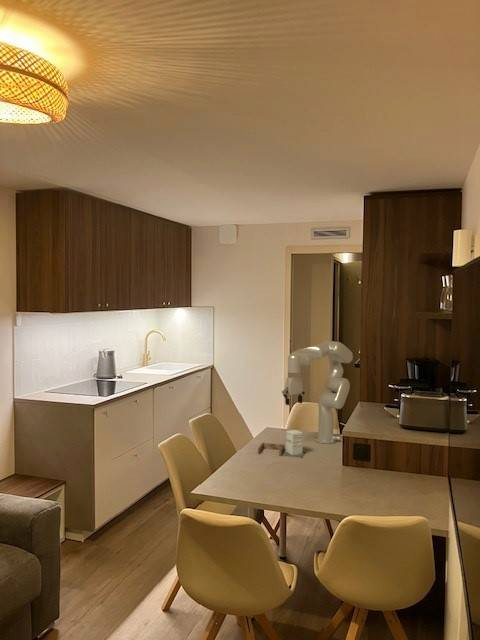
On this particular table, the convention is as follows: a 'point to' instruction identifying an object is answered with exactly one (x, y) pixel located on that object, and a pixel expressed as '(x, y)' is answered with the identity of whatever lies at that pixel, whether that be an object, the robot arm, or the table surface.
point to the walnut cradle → (272, 447)
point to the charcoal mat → (294, 455)
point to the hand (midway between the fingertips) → (293, 403)
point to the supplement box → (294, 442)
